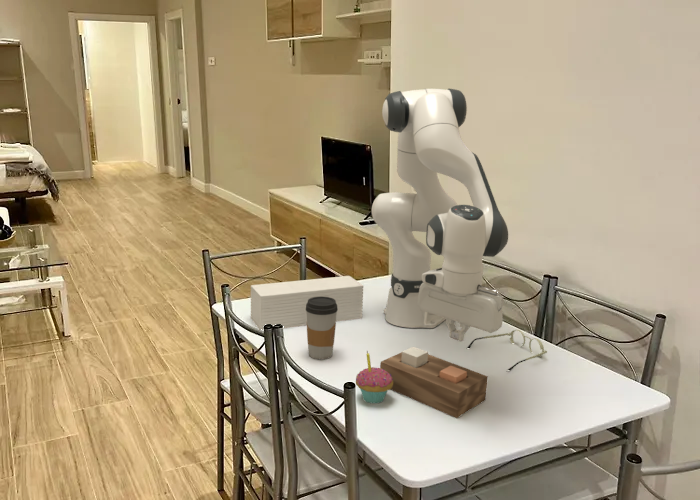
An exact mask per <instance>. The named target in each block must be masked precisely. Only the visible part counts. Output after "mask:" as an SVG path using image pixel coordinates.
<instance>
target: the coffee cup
mask: <svg viewBox="0 0 700 500" xmlns="http://www.w3.org/2000/svg"><path fill="white" fill-rule="evenodd" d="M337 310H338V309H337V304H336V301H335V300H334V299H333V298H330V297H313V298H310V299H308V303H307V304H306V314H307V325H306V336H307V337H306V339H307V349H308V350H307V351H308V355H309V357H310V358H312V359H314V360H327V359H329V358H331V357H332V355H333V351H334V345H335V335H336V326H337V322H336V314H337Z"/></svg>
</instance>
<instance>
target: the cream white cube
mask: <svg viewBox="0 0 700 500" xmlns="http://www.w3.org/2000/svg"><path fill="white" fill-rule="evenodd" d="M401 352H402V360H401V362H402V363H404V364H407V365H410V366H412V367H415V368H418V367H420V366H422V365H424V364H426V363H427V359H428V354H429V352H428V351H426V350H423V349H421V348H418V347H415V346H411V347H409V348H407V349H405V350H402V351H401Z"/></svg>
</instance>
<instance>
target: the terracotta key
mask: <svg viewBox="0 0 700 500" xmlns="http://www.w3.org/2000/svg"><path fill="white" fill-rule="evenodd" d="M439 377H440V378H443V379H445V380H448V381H450V382H453V383H455V384H457V383H459V382H460V381H462V380H464V379H466V377H467V371H464V370H462V369H459V368H456V367H453V366H449V367H447V368H445V369H443V370H441V371H440V376H439Z"/></svg>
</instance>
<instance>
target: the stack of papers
mask: <svg viewBox="0 0 700 500" xmlns="http://www.w3.org/2000/svg"><path fill="white" fill-rule="evenodd" d="M313 297H330V298H333V299H334V300H335V301H336V304H337V309H338V310H337V314H336V323H337V322H344V321H352V320H360V319H361V320H362V319H363V303H364V284H361V283H360V282H359V281H358V280H356V279H355V278H354V277H352V276H350V275H344V276H342V275H341V276H335V277H323V278H313V279H311V278H310V279H305V280H304V279H302V280H300V279H299V280H292V281H282V282H271V283H270V282H269V283H261V284H259V283H258V284H251V285H250V320H251V321H252V320H253V321H252V322H253V323H254V325H255V326H256V325H257V326H256V327H257V329H259V330H260V329H262V330H263V326H264V325H265V324H272V325H275V324H282V325H283V326H284V328H283V329H289V328H296V327H307V314H306V304H307V303H308V299H310V298H313Z"/></svg>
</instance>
